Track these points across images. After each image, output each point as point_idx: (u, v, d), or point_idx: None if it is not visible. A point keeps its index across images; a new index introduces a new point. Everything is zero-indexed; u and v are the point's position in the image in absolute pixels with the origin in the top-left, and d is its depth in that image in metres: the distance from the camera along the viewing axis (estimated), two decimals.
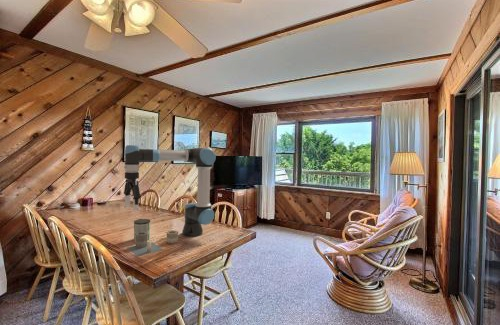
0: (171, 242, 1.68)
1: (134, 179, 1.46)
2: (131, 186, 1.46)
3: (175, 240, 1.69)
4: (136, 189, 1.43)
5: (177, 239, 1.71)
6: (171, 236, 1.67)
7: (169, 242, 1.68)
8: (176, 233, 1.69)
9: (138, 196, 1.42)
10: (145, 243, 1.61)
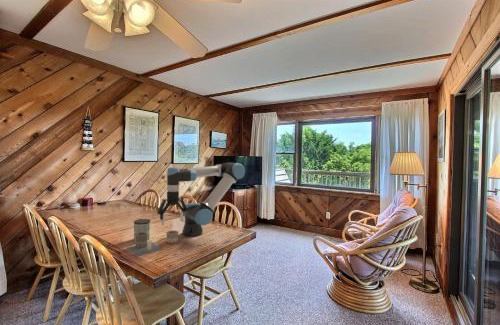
0: (171, 242, 1.68)
1: (167, 197, 1.67)
2: (167, 203, 1.69)
3: (175, 240, 1.69)
4: (160, 206, 1.65)
5: (177, 239, 1.71)
6: (171, 236, 1.67)
7: (169, 242, 1.68)
8: (176, 233, 1.69)
9: (158, 212, 1.63)
10: (145, 243, 1.61)
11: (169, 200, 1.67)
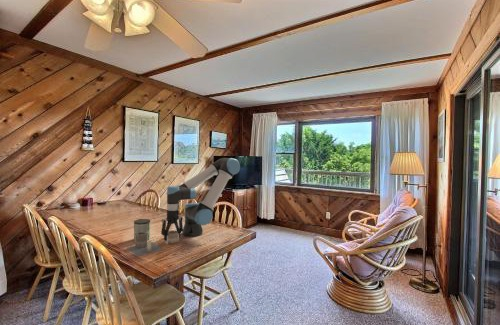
0: (171, 242, 1.68)
1: None
2: None
3: (175, 240, 1.69)
4: (162, 227, 1.66)
5: (177, 239, 1.71)
6: (171, 236, 1.67)
7: (169, 242, 1.68)
8: (176, 233, 1.69)
9: (162, 233, 1.66)
10: (145, 243, 1.61)
11: (169, 219, 1.68)
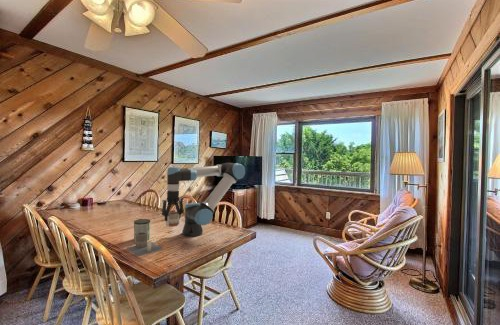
0: (171, 223, 1.67)
1: (167, 197, 1.67)
2: (168, 203, 1.69)
3: (175, 221, 1.68)
4: (163, 207, 1.66)
5: (177, 220, 1.70)
6: (171, 217, 1.67)
7: (169, 223, 1.67)
8: (176, 214, 1.69)
9: (163, 214, 1.65)
10: (145, 243, 1.61)
11: (169, 199, 1.67)
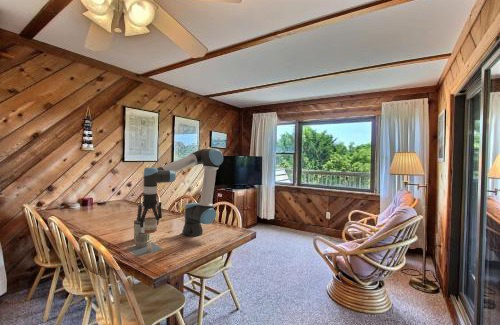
0: (147, 229, 1.50)
1: None
2: (144, 207, 1.53)
3: (152, 227, 1.52)
4: (138, 212, 1.49)
5: (155, 226, 1.54)
6: (147, 222, 1.50)
7: (145, 229, 1.51)
8: (153, 219, 1.52)
9: (138, 219, 1.49)
10: (145, 243, 1.61)
11: (145, 203, 1.51)
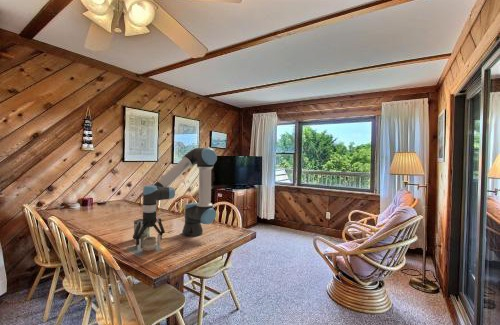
0: (147, 249, 1.51)
1: (143, 219, 1.51)
2: (143, 225, 1.52)
3: (152, 247, 1.52)
4: (136, 230, 1.49)
5: (154, 246, 1.54)
6: (147, 243, 1.51)
7: (145, 249, 1.51)
8: (153, 239, 1.52)
9: (133, 237, 1.47)
10: None
11: (145, 222, 1.51)
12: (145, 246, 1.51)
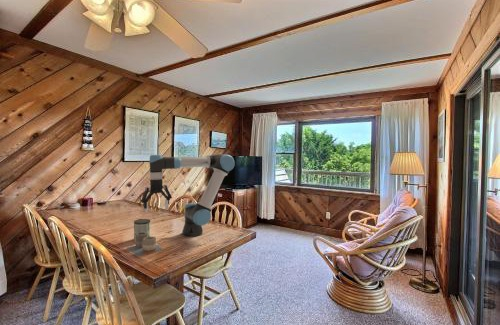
0: (147, 249, 1.51)
1: (151, 185, 1.63)
2: (150, 191, 1.64)
3: (152, 247, 1.52)
4: (144, 194, 1.60)
5: (154, 246, 1.54)
6: (147, 243, 1.51)
7: (145, 249, 1.51)
8: (153, 239, 1.52)
9: (141, 201, 1.59)
10: None
11: (153, 188, 1.63)
12: (145, 246, 1.51)
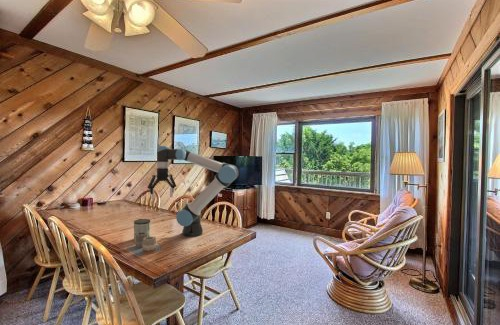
0: (147, 249, 1.51)
1: (157, 173, 1.78)
2: (156, 179, 1.80)
3: (152, 247, 1.52)
4: (150, 181, 1.76)
5: (154, 246, 1.54)
6: (147, 243, 1.51)
7: (145, 249, 1.51)
8: (153, 239, 1.52)
9: (148, 187, 1.74)
10: None
11: (159, 176, 1.78)
12: (145, 246, 1.51)
